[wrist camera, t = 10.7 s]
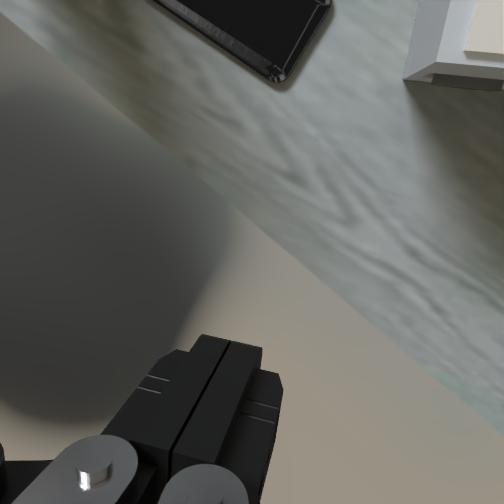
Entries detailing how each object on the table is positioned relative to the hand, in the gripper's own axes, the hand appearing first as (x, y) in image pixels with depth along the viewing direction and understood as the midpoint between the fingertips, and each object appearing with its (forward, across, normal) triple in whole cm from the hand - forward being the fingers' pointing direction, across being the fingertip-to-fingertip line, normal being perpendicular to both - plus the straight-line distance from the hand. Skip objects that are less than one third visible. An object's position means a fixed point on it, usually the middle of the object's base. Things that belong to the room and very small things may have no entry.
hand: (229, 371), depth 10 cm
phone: (+30, +10, -14) cm, 34 cm away
